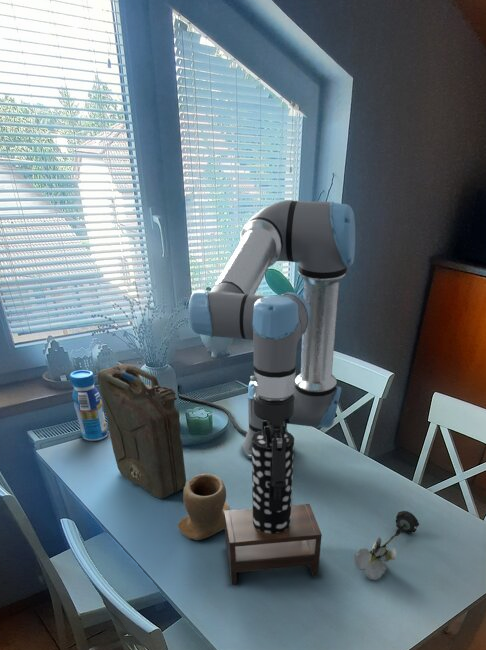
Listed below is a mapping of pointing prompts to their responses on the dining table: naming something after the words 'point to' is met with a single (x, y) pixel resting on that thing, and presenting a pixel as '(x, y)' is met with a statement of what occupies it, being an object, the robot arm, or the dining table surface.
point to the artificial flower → (384, 548)
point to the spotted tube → (260, 490)
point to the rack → (272, 542)
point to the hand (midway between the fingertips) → (272, 498)
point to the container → (143, 429)
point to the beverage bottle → (88, 406)
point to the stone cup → (204, 507)
